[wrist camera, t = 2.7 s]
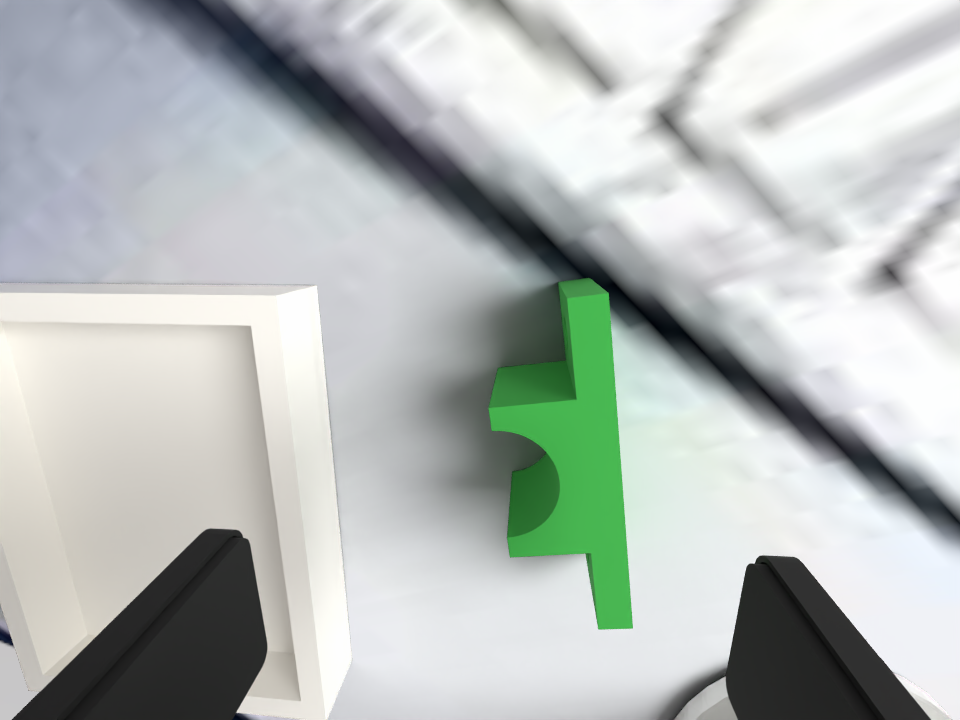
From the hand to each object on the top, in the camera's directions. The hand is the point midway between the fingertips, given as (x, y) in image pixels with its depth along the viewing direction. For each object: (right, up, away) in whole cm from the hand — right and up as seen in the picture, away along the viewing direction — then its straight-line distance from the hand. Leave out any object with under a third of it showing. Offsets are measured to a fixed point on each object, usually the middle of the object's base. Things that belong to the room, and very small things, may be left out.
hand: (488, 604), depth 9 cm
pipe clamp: (+3, +2, +10) cm, 11 cm away
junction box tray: (-13, -1, +12) cm, 18 cm away
